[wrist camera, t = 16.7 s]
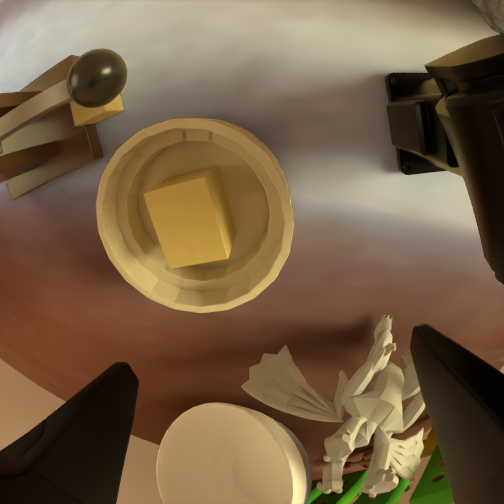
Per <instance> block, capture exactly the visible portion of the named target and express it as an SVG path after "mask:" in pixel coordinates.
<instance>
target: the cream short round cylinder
mask: <svg viewBox="0 0 504 504" xmlns="http://www.w3.org/2000/svg"><path fill="white" fill-rule="evenodd" d="M156 476H157V484H158V489H159V493H160V496H161V499H162V502H163V504H307V502H308V499H309V497H310V493H311V487H312V471H311V466H310V462H309V459H308V455H307V453H306V451H305V450H304V448H303V446H302V444H301V442H300V441H299V440H298V439H297V437H296V436H295V435H294V434H293V432H291V431H290V430H289V429H288V428H287V427H286V426H284V425H283V424H282V423H280V422H278V421H276V420H275V419H273V418H271V417H269V416H267V415H264V414H263V413H261V412H258V411H255V410H252V409H249V408H246V407H242V406H238V405H234V404H228V403H221V402H214V403H205V404H202V405H199V406H196V407H193V408H191V409H189V410H187V411H186V412H184V413H182V414H181V415H180V416H179V417H178V418H177V419H176V420H175V421H174V422H173V423H172V424H171V426H170V427H169V428H168V430H167V431H166V433H165V435H164V437H163V439H162V441H161V444H160V448H159V451H158V456H157V464H156Z"/></svg>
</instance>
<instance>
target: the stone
mask: <svg viewBox="0 0 504 504" xmlns="http://www.w3.org/2000/svg"><path fill="white" fill-rule="evenodd" d="M472 2H473V3H474V4H475V6H476V7H477V9H478V10H479V11H480V13H481V14H482V15H483V17H484V19H485V21H486V23H488V24H489V26H490V27H491V28H492V29H493V30H494V31H496V32H498V33H500V34H504V0H472Z"/></svg>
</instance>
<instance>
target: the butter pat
mask: <svg viewBox="0 0 504 504" xmlns="http://www.w3.org/2000/svg"><path fill="white" fill-rule="evenodd" d="M144 198H145V201H146V204H147V207H148V210H149V213H150V216H151V219H152V222H153V225H154V228H155V231H156V233H157V236H158V239H159V242H160V245H161V247H162V250H163V253H164V256H165V258H166V261H167V264H168V266H169V269H172V268H178V267H184V266H190V265H195V264H201V263H207V262H213V261H218V260H224V259H228V258H229V255H230V252H231V248H232V245H233V242H234V239H235V235H236V232H235V228H234V224H233V220H232V217H231V213H230V209H229V205H228V201H227V197H226V194H225V190H224V186H223V182H222V178H221V174H220V170H219V167H218V166H213V167H209V168H205V169H201V170H197V171H193V172H190V173H186V174H182V175H178V176H175V177H171V178H168V179H165V180H163V181H162V182H160V183H159V184H157V185H156V186H154V187H152V188H151V189H149V190H148V191H146V192H145V193H144Z"/></svg>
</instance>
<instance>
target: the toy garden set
mask: <svg viewBox="0 0 504 504" xmlns="http://www.w3.org/2000/svg"><path fill="white" fill-rule="evenodd" d="M422 442H423V444H424V448H423V451H422V453H421V455H420V458H422V457H426V456H430V455H432V456H431V458H430V460H429V463H428V465H427V467H426V469H425V471H424V473H423V475H422V477H421V479H420V481H419V483H418V485H417V487H416V489H415V490H414V492H413V494H412V496H411V498H410V500H409V502H410V504H453V503H454V500H453V496H452V492H451V488H450V484H449V480H448V476H447V472H446V469H445V465H444V461H443V458H442V455H441V451H440V448H439V445H438V442H437V438H436V435H435V432H434V429H433V427H432V429H431V431H430V433H429V435H428V437H427V439H426V440H424V441H422ZM373 451H374V448H373V449H370V450H369V451H367V452H366V453H365V454H364V455H363V458H362V460H361V461H358V462H345V464H344V466H343V469H344V468H351V467H353V466H357V465H362V466H363V467H365V468H369V465H370V461H371V458H372V454H373ZM389 468H391V467H390V466H389ZM416 470H417V469H416ZM416 470H415V472H416ZM367 471H368V469H365V470H361V471H357V472H353V473H349V474H344V475H342V480H343V486H342V492H341V493H336V492H334V491H331V492H330V493H328V494H325V493H323V491H322V490H318V489H317V484H318V482H322V481H323V479H319V480H313V481H312V487H311V493H310V497H309V499H308V502H307V504H349V503H350V502H352V501H355V500H356V499H357V498H358V499H357V500H356V501H355V502H354V503H353V504H397V502H398V500H399V499H400V498H401V496H402V494H403V493H404V492H406V491H408V490H409V489H411V488H410V487H409V485H408V484H409V482H410V481H409V480H406V479H404V478H402V477H400V476H399V475H398V474H397V473H396V474H395V475H396V476H397V477H398V479H399V481H398V484H397V486H396V488H394V489H392V490H391V491H390V492H385V493H378V494H376V497H372V498H371V497H369V494H368V493H364V492H363V493H362V494H361V495H360V496H359V497H358V495H359V492H360V491H361V490H362V487H361V486H362V483H363V482H364V481H365V479H366V477H367ZM415 472H414V473H413V474H415Z"/></svg>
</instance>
